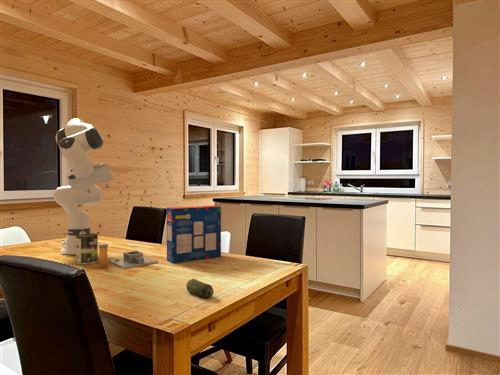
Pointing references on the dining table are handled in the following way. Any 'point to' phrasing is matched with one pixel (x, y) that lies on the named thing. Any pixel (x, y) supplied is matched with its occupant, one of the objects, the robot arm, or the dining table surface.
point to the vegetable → (199, 288)
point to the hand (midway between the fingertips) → (99, 189)
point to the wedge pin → (103, 255)
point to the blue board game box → (193, 233)
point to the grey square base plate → (132, 260)
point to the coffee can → (86, 248)
